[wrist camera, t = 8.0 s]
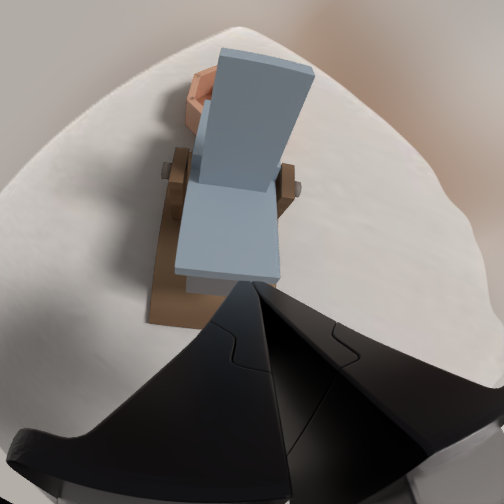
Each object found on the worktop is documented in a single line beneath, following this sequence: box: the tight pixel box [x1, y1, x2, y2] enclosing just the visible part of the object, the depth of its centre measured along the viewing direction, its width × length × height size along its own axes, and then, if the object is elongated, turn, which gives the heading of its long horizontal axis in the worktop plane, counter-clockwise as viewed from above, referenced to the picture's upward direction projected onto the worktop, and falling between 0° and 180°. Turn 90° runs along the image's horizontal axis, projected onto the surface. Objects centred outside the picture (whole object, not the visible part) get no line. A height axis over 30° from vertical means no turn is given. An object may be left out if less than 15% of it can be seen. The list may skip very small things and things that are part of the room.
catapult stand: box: [149, 147, 301, 329], centre depth 19 cm, size 14×9×6 cm, turn 177°
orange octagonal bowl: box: [185, 65, 217, 135], centre depth 24 cm, size 8×8×3 cm
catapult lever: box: [175, 48, 315, 296], centre depth 15 cm, size 13×5×11 cm, turn 177°
